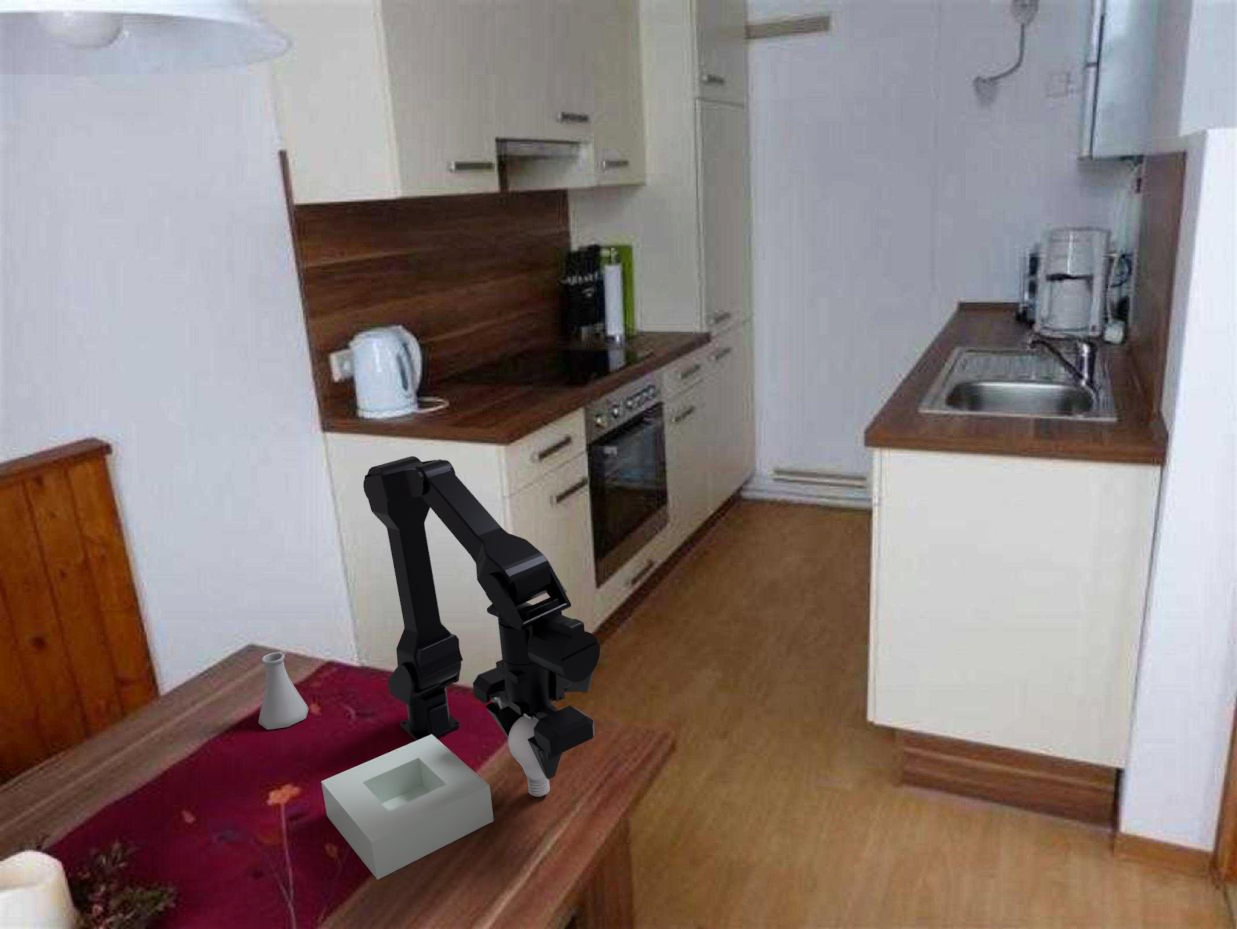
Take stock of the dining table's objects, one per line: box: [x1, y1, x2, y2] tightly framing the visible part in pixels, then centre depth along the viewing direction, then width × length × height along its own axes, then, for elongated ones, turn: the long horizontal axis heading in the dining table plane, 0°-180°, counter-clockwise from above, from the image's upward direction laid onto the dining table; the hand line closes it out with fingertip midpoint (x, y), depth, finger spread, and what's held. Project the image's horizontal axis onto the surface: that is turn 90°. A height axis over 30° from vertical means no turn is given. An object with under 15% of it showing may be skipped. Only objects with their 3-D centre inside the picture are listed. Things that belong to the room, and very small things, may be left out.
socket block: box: [320, 734, 494, 881], centre depth 114 cm, size 15×15×5 cm
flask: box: [258, 651, 309, 731], centre depth 138 cm, size 7×7×10 cm
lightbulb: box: [507, 716, 551, 797], centre depth 116 cm, size 6×6×11 cm
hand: (536, 766), depth 117 cm, fingers closed on lightbulb, 6 cm apart
